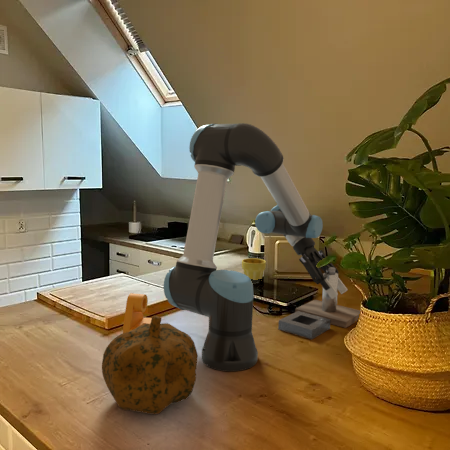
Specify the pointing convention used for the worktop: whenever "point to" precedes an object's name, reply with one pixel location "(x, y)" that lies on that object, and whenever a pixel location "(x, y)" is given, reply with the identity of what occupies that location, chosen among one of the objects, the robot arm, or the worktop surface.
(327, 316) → the board
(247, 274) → the plant pot
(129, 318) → the bracket
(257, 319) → the worktop surface
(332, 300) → the clear bottle
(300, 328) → the socket block
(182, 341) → the decorative pumpkin
